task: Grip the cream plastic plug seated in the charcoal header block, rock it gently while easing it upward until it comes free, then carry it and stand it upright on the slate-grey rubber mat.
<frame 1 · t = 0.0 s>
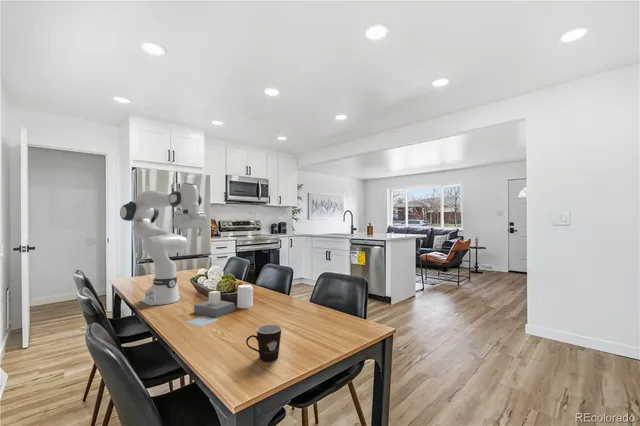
hand: (192, 236, 165), 39 cm above the table, tool pointing down, fingers open, 8 cm apart
coffee mug: (264, 358, 104), on the table
beverage can: (245, 308, 163), on the table
header block: (214, 313, 153), on the table
plug: (214, 311, 153), point 1 cm above the table, touching header block
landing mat: (202, 322, 139), on the table
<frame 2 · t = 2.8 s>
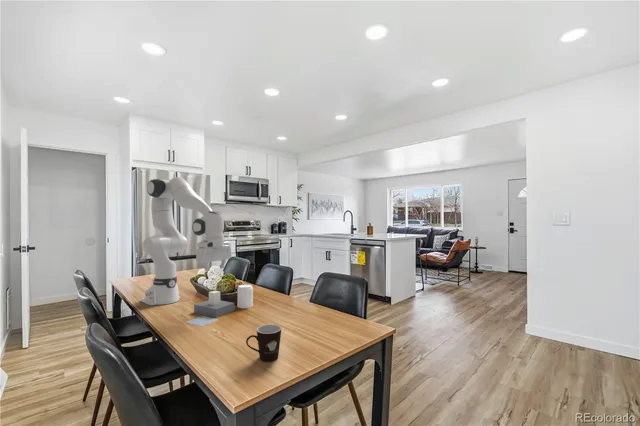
hand: (214, 269, 153), 22 cm above the table, tool pointing down, fingers open, 8 cm apart
nothing on the table moved.
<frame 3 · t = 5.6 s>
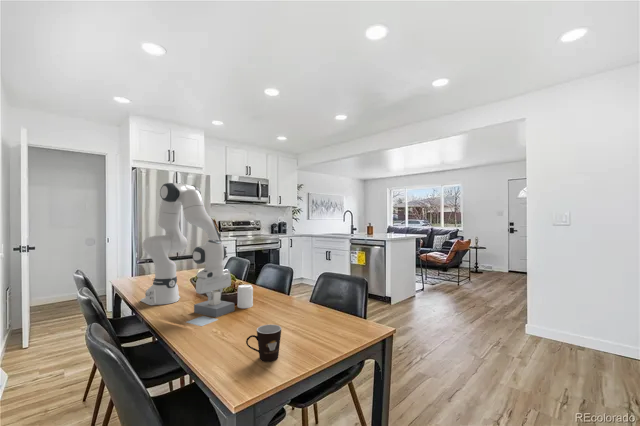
hand: (214, 298, 153), 8 cm above the table, tool pointing down, fingers closed on plug, 4 cm apart
plug: (214, 311, 153), point 1 cm above the table, touching gripper, header block
everything else where it was.
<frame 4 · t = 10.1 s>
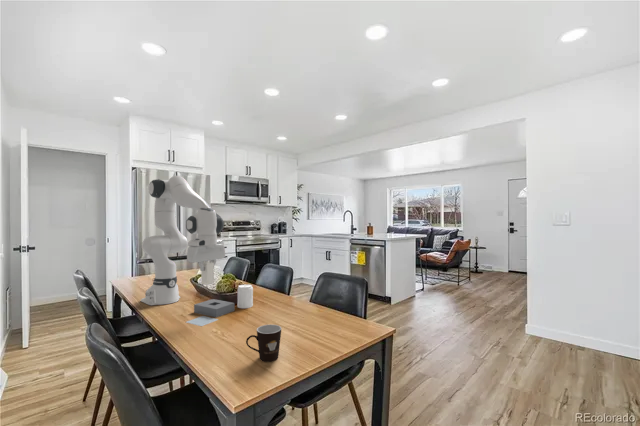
hand: (207, 270, 144), 24 cm above the table, tool pointing down, fingers closed on plug, 4 cm apart
plug: (207, 283, 143), point 17 cm above the table, touching gripper
everything else where it was.
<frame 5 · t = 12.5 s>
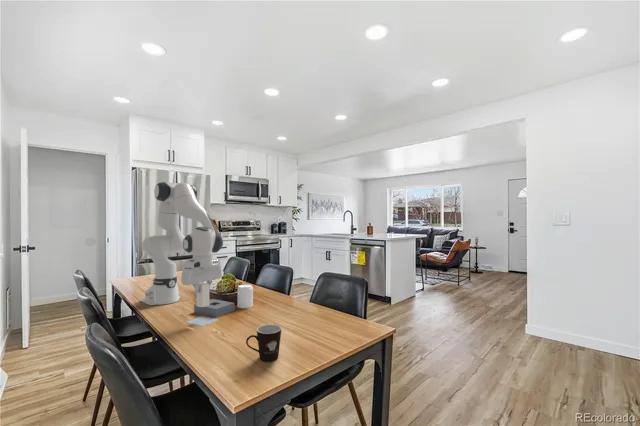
hand: (202, 291, 139), 15 cm above the table, tool pointing down, fingers closed on plug, 4 cm apart
plug: (203, 305, 139), point 8 cm above the table, touching gripper
everything else where it was.
when the fingers open (8 cm above the table, at t = 14.8 s): plug stays where it is, resting on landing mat.
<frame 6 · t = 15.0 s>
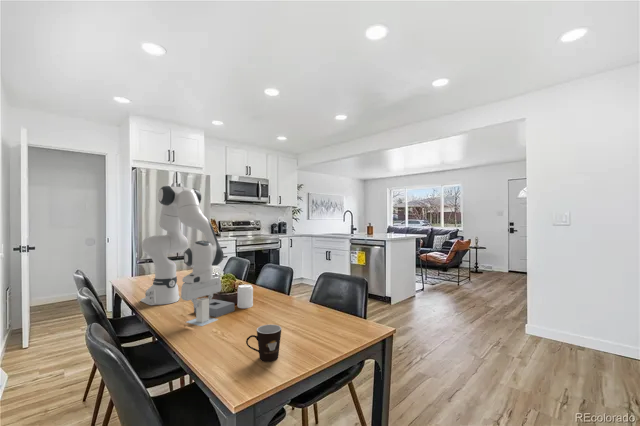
hand: (202, 305, 139), 8 cm above the table, tool pointing down, fingers open, 5 cm apart
plug: (202, 320, 139), point 1 cm above the table, touching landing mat
everything else where it was.
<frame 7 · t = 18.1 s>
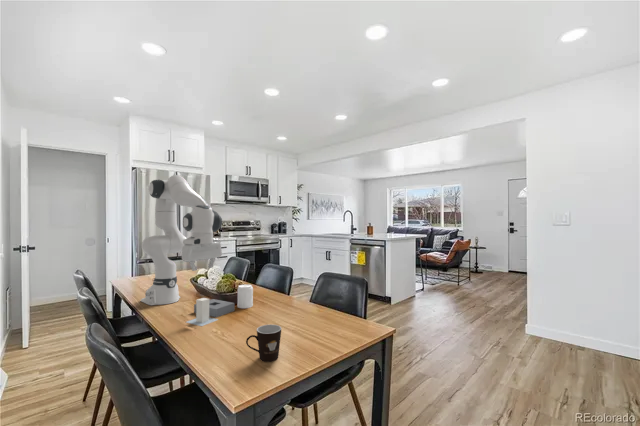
hand: (202, 269, 140), 25 cm above the table, tool pointing down, fingers open, 8 cm apart
nothing on the table moved.
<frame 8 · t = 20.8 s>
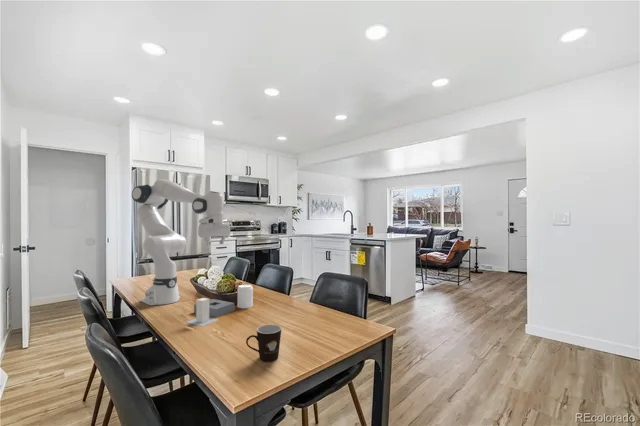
hand: (215, 244, 168), 34 cm above the table, tool pointing down, fingers open, 8 cm apart
nothing on the table moved.
at the end: plug inside the target area (0.2 cm from its centre), point 1.0 cm above the table; plug tilted 0°; the gripper is holding nothing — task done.
